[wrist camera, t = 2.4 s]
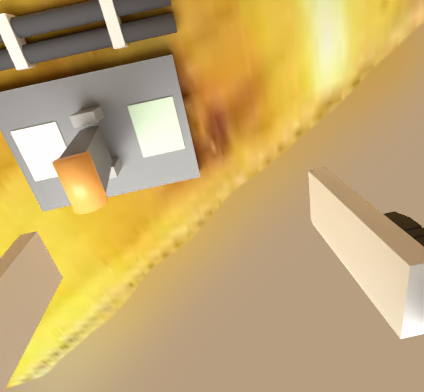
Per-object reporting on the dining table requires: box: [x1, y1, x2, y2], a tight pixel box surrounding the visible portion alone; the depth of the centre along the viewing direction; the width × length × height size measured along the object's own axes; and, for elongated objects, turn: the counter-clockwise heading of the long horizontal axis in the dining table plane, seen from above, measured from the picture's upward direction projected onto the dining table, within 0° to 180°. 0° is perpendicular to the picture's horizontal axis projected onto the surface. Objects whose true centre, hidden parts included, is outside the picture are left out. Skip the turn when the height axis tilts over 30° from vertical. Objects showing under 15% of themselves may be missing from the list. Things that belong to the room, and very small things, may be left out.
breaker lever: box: [52, 125, 113, 214], centre depth 27 cm, size 3×4×13 cm, turn 11°
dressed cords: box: [0, 0, 177, 71], centre depth 30 cm, size 22×5×2 cm, turn 101°
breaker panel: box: [0, 54, 200, 211], centre depth 33 cm, size 20×14×5 cm
